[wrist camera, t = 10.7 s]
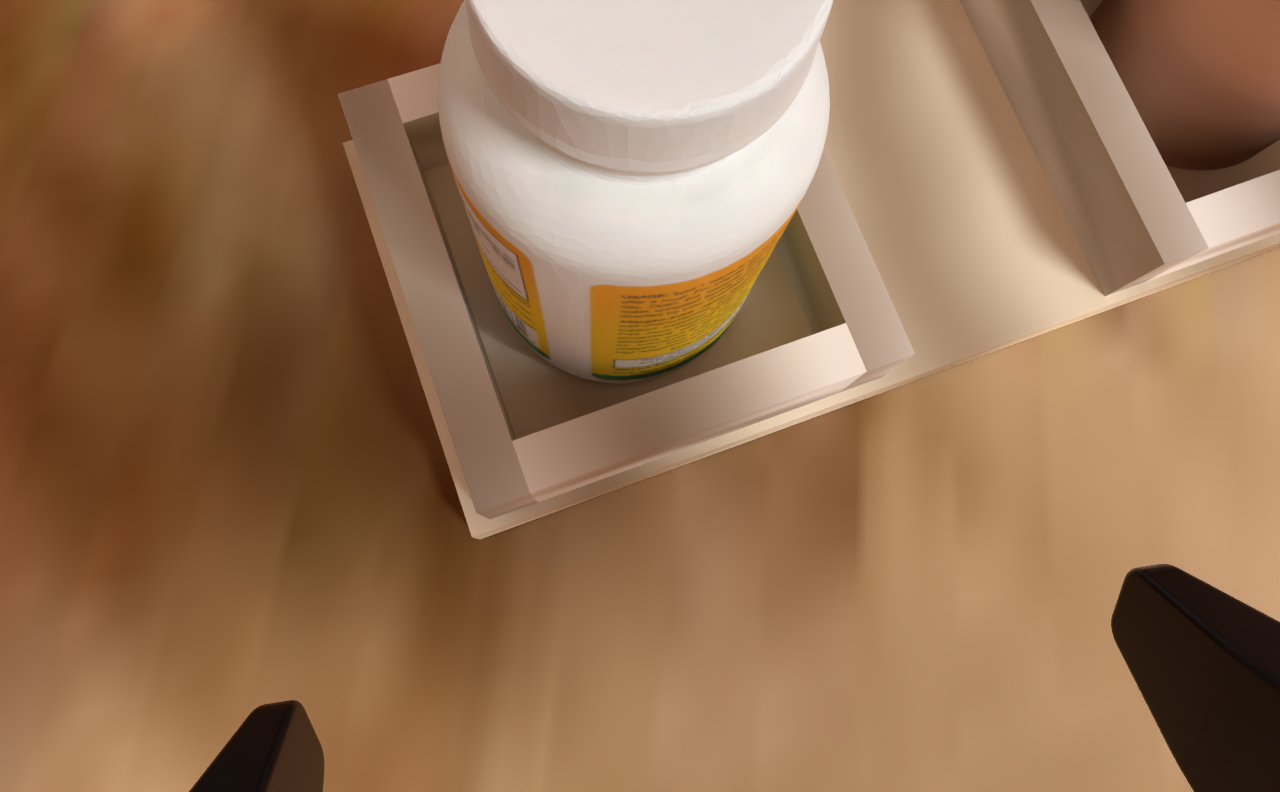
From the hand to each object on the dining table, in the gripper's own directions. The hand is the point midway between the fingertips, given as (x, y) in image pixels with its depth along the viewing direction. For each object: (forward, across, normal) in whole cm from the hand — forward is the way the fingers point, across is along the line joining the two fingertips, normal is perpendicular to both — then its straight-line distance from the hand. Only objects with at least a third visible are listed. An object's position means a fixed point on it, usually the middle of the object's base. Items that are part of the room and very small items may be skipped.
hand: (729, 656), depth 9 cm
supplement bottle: (+11, 0, 0) cm, 11 cm away
